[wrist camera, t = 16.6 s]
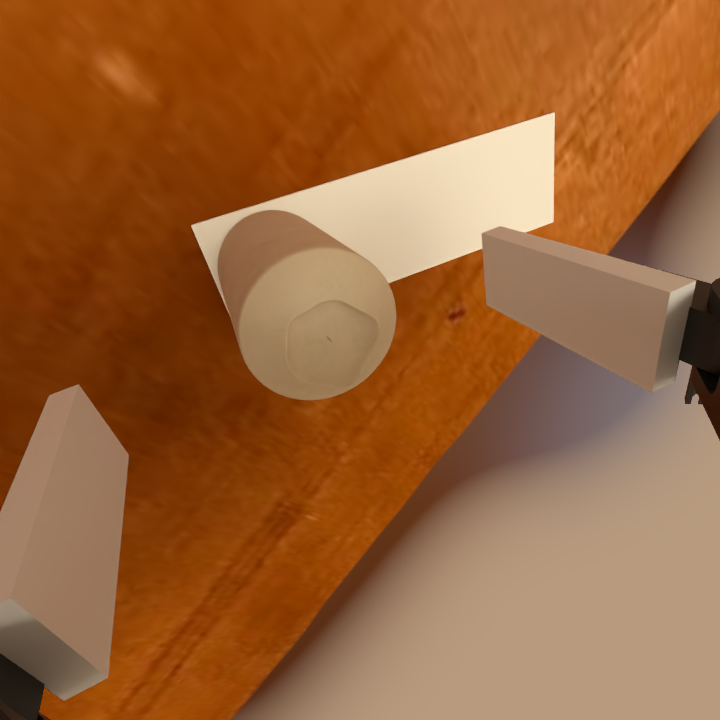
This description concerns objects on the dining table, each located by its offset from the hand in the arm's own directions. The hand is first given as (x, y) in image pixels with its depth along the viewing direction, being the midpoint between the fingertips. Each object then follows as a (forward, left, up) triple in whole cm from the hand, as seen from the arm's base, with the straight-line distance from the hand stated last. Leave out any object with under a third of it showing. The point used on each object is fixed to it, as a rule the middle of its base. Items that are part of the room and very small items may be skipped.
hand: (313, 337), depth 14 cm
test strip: (+7, 0, -10) cm, 12 cm away
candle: (0, 0, -10) cm, 10 cm away
